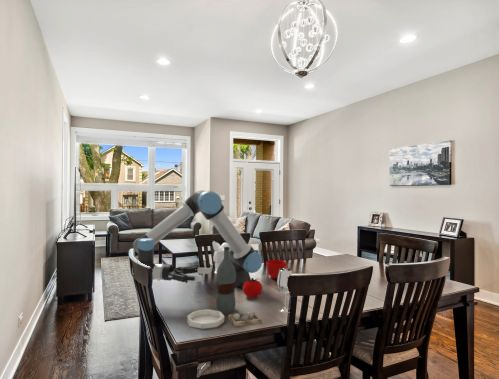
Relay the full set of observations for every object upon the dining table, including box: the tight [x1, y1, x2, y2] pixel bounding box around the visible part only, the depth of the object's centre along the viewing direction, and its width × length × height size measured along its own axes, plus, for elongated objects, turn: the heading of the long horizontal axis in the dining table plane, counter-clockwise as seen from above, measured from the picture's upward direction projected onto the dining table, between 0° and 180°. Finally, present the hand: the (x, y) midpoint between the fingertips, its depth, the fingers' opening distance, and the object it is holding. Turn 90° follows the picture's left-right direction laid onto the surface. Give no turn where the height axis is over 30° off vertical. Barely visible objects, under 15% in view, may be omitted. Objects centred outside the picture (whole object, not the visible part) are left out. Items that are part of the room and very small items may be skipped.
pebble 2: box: [241, 315, 248, 321], centre depth 145 cm, size 3×3×3 cm
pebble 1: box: [233, 312, 240, 321], centre depth 146 cm, size 3×3×3 cm
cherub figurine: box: [212, 240, 230, 275], centre depth 224 cm, size 12×12×22 cm
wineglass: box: [276, 267, 293, 313], centre depth 159 cm, size 8×8×20 cm
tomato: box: [242, 277, 263, 299], centre depth 179 cm, size 10×10×10 cm
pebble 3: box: [246, 311, 254, 319], centre depth 148 cm, size 3×3×3 cm
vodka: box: [215, 247, 236, 314], centre depth 159 cm, size 9×9×30 cm
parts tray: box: [227, 311, 262, 327], centre depth 146 cm, size 12×9×2 cm
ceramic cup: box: [265, 259, 289, 280], centre depth 216 cm, size 13×17×10 cm
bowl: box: [186, 308, 225, 330], centre depth 145 cm, size 15×15×3 cm
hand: (206, 274), depth 160 cm, fingers open, 13 cm apart
